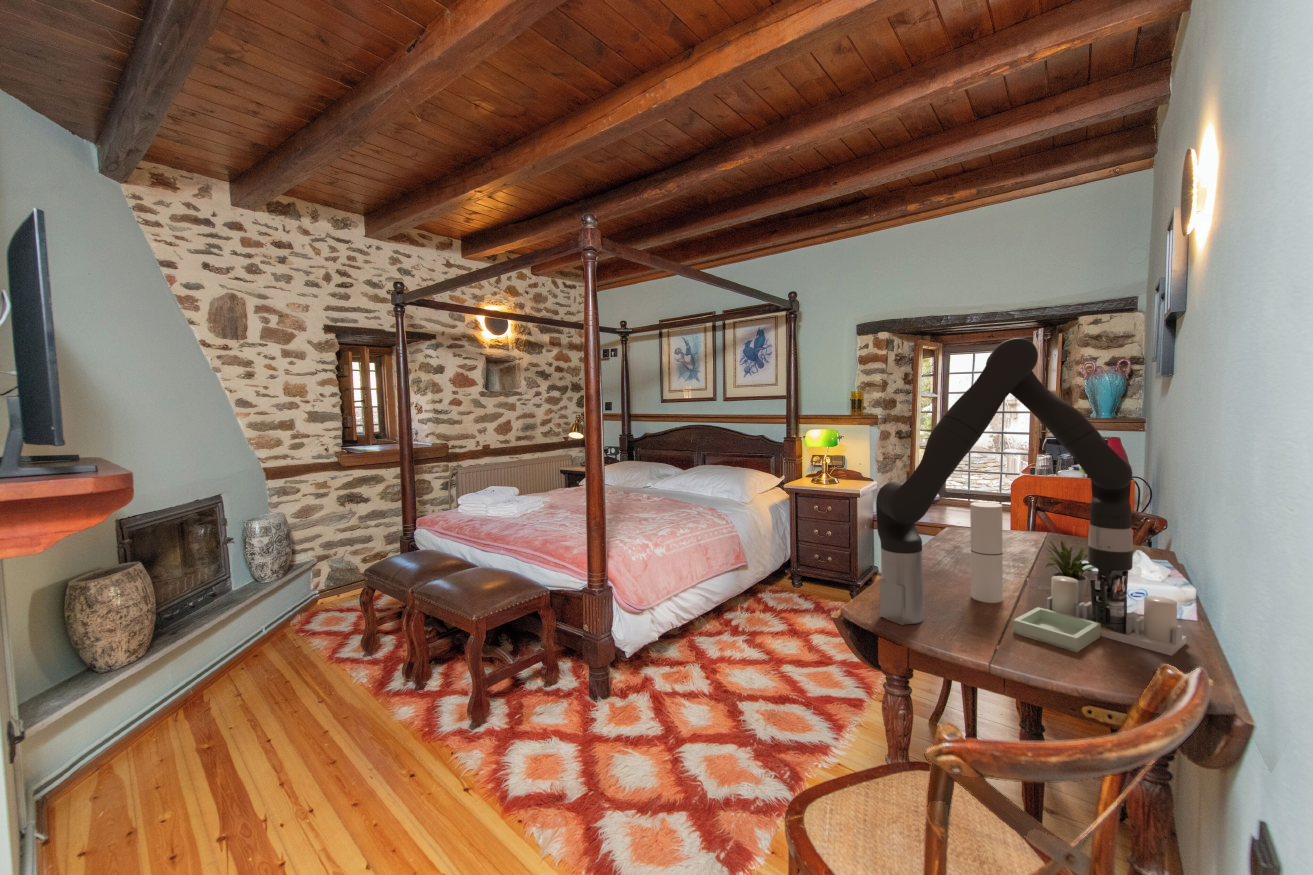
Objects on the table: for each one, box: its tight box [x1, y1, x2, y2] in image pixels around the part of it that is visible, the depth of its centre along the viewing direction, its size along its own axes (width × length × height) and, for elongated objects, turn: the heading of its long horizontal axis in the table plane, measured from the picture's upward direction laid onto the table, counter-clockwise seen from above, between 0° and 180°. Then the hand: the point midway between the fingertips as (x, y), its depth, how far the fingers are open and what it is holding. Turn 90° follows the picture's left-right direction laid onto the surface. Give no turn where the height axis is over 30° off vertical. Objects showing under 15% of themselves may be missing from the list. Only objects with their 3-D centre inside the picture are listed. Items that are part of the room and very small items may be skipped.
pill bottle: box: [1092, 582, 1128, 635], centre depth 119 cm, size 6×6×11 cm
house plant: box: [1037, 536, 1097, 604], centre depth 138 cm, size 14×14×16 cm
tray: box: [1012, 606, 1101, 653], centre depth 119 cm, size 12×12×3 cm
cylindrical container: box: [969, 501, 1004, 604], centre depth 141 cm, size 7×7×25 cm
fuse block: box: [1046, 576, 1187, 656], centre depth 119 cm, size 9×23×10 cm, turn 32°
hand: (1109, 619), depth 120 cm, fingers closed on pill bottle, 6 cm apart
